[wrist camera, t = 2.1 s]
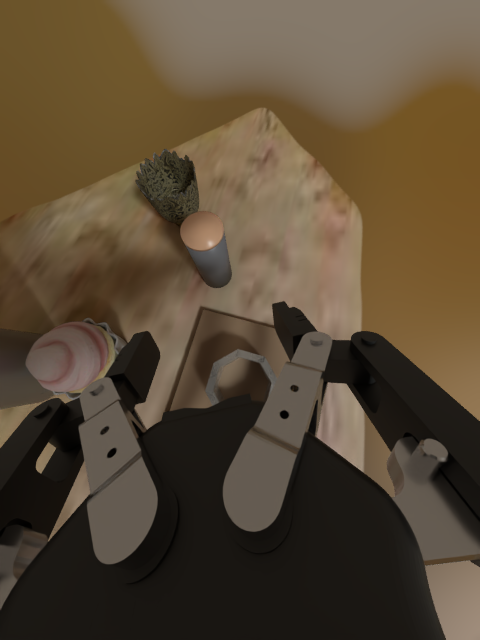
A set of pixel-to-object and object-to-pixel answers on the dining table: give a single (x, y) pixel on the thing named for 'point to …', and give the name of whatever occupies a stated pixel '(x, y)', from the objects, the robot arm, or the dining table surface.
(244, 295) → the dining table surface
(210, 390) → the grey octagonal sleeve
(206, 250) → the grey cylinder tan top
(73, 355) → the cupcake
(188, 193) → the cup
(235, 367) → the board
